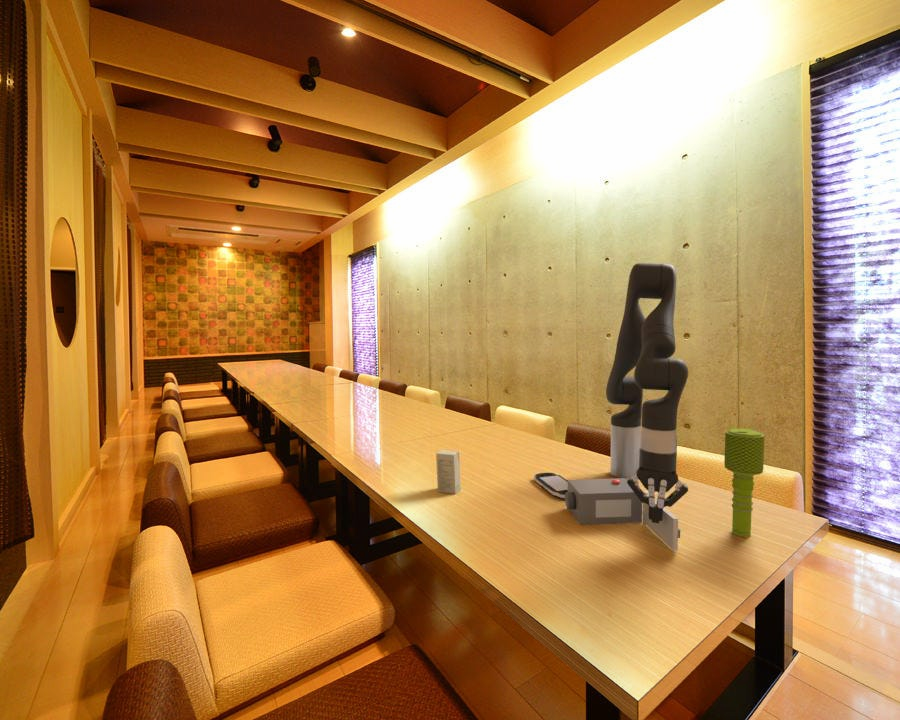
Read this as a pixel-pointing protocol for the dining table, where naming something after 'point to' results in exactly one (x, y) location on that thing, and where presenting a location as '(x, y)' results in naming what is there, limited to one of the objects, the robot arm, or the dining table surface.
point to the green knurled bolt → (743, 473)
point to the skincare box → (448, 471)
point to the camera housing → (603, 501)
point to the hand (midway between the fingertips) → (655, 521)
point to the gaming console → (552, 484)
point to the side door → (663, 526)
